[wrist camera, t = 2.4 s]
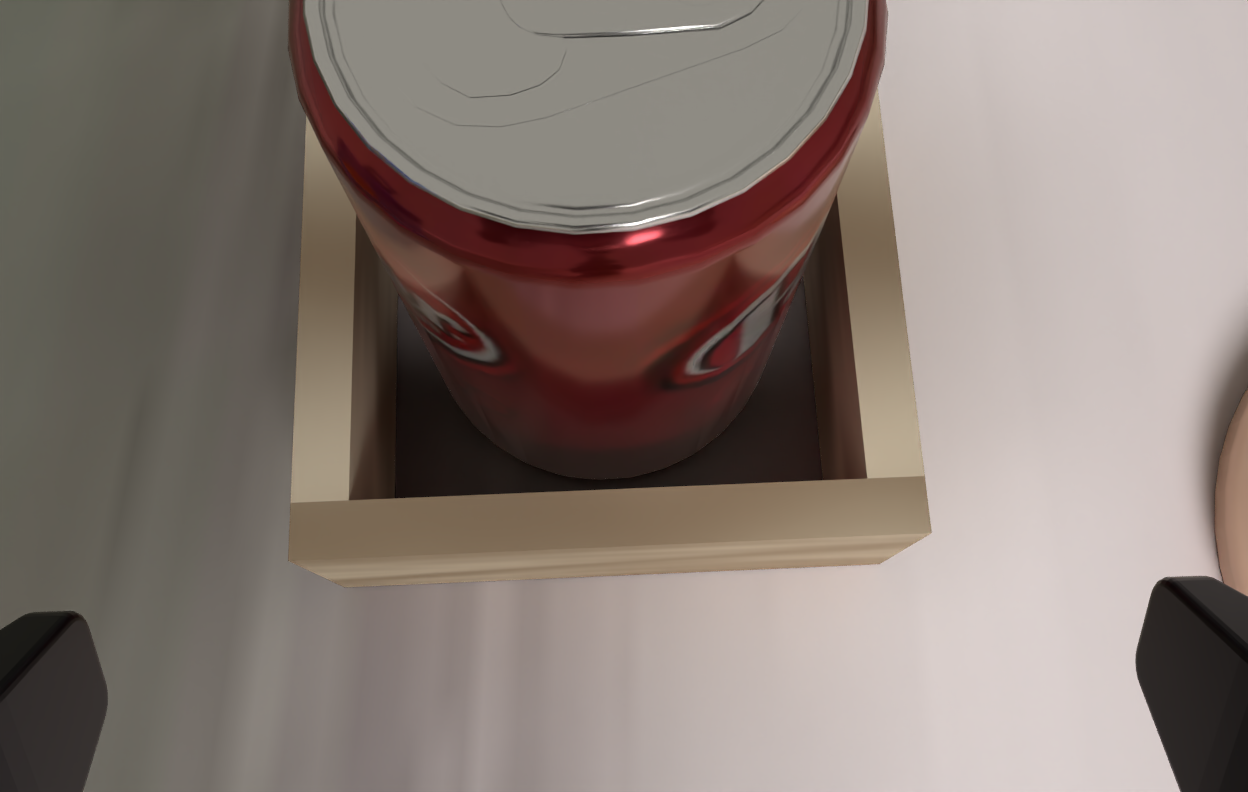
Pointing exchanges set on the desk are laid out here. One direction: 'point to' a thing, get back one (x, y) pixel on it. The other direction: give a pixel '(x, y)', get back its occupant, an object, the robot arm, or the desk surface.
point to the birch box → (613, 518)
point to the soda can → (592, 197)
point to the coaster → (1233, 502)
